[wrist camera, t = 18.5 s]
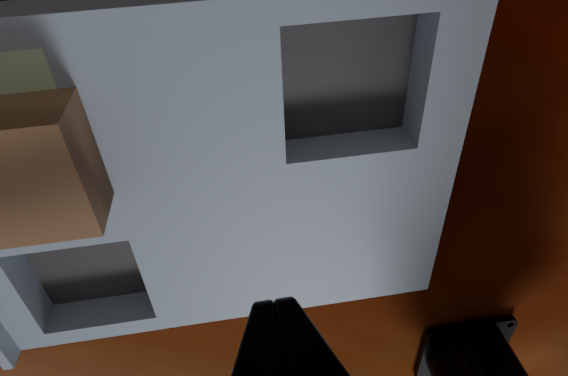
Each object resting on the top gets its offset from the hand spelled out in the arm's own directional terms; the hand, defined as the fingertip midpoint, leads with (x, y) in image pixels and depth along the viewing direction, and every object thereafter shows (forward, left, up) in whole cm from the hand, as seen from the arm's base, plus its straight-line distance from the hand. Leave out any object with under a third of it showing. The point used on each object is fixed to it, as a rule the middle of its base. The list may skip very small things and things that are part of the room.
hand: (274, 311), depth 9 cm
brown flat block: (-1, +8, -9) cm, 12 cm away
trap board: (-4, +2, -11) cm, 12 cm away
